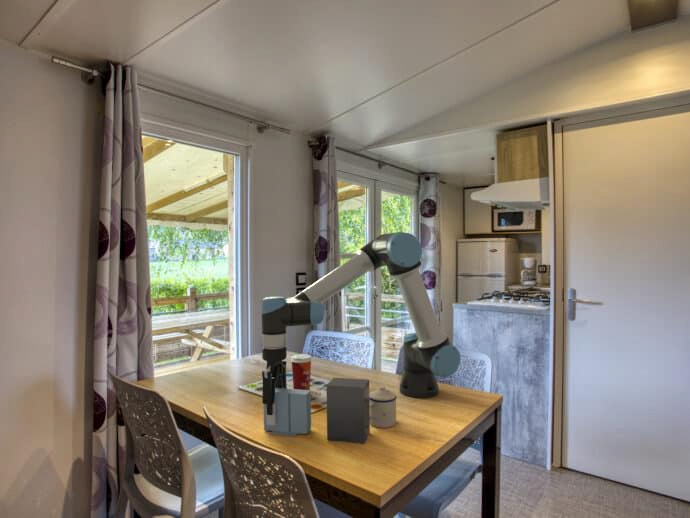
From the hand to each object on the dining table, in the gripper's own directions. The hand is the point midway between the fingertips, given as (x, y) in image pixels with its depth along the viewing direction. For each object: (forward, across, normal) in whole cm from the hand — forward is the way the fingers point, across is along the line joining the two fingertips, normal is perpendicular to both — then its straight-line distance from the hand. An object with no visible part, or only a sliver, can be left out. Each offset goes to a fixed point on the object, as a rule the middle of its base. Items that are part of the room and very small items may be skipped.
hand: (275, 420), depth 131 cm
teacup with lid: (+3, -11, +31) cm, 33 cm away
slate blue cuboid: (+3, 0, +4) cm, 5 cm away
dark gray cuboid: (+3, 0, +23) cm, 23 cm away
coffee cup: (+3, -32, -3) cm, 32 cm away
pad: (+3, 0, +4) cm, 5 cm away
